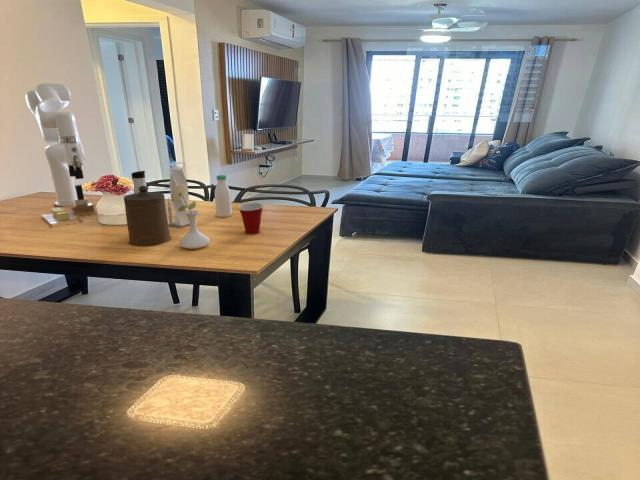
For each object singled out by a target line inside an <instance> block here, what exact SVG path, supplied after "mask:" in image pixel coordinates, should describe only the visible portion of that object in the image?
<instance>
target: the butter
mask: <svg viewBox="0 0 640 480" xmlns="http://www.w3.org/2000/svg"><path fill="white" fill-rule="evenodd" d="M65 211H66V210H65V209H64V208H62V207H54V208H51V214H52V213H53V215H54V216H55V217H56V218H58V217H57V213H60V212H65Z"/></svg>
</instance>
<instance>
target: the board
mask: <svg viewBox="0 0 640 480" xmlns="http://www.w3.org/2000/svg"><path fill="white" fill-rule="evenodd" d="M65 212H68V215H69V219H65V220H58V218H56V217H55V216H54V215H53V213H52V212H51V213H46V214H41V217H42V218H44V219H45V220H46V221H47V222H48V223H49V224H50V225H54V224H61V223H67V222H71V221H72V222H74V221H78V220H82V218H81V217H79V216H78V214H77V215H74V214H73V213H72V210H67V211H66V210H65Z"/></svg>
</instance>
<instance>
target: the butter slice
mask: <svg viewBox="0 0 640 480" xmlns="http://www.w3.org/2000/svg"><path fill="white" fill-rule="evenodd" d="M57 217H58V220H65V219H69V215H68V212H60V213H57Z"/></svg>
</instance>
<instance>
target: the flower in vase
mask: <svg viewBox="0 0 640 480" xmlns="http://www.w3.org/2000/svg"><path fill="white" fill-rule="evenodd" d="M187 186H188V185H187ZM187 186H186V185H185V186H184V184H181V186H180V185H178V186H177V187H176V189H175V190H173V194H172V195H171V194H170V197H169V199H170V201H171V202H172V201H175V202H176V201H178V200H180V199H181V198H183V199H184V197H183V196H184V195H185V193H186V190H187ZM171 198H172V199H171ZM184 201H185V199H184ZM185 204H186V201H185ZM186 207H187V211H186V212H185V214H186V215H187V216H188V218H189V221H190V225H189V232H187V233H186V234H185V235H184V236H183V237H182V238H181V239H180V240H179V244H178V245H179V246H180V247H181V248H182V249H188V250H196V249H202V248H205V247H206V246H208V245H210V242H211V240H210V238H209V237H208V236H207V235H205V234H203V233H202V232H200V231H199V230H198V228H197V216H198V214H199V213H200V212H199V210H195V208H196V207H197V203H196V201H193V202H191V203H190V204H188V205H187V204H186V206H185V205H183V206H181V207H180V208H179V209H178V211H183V210H184V209H185V208H186Z"/></svg>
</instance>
